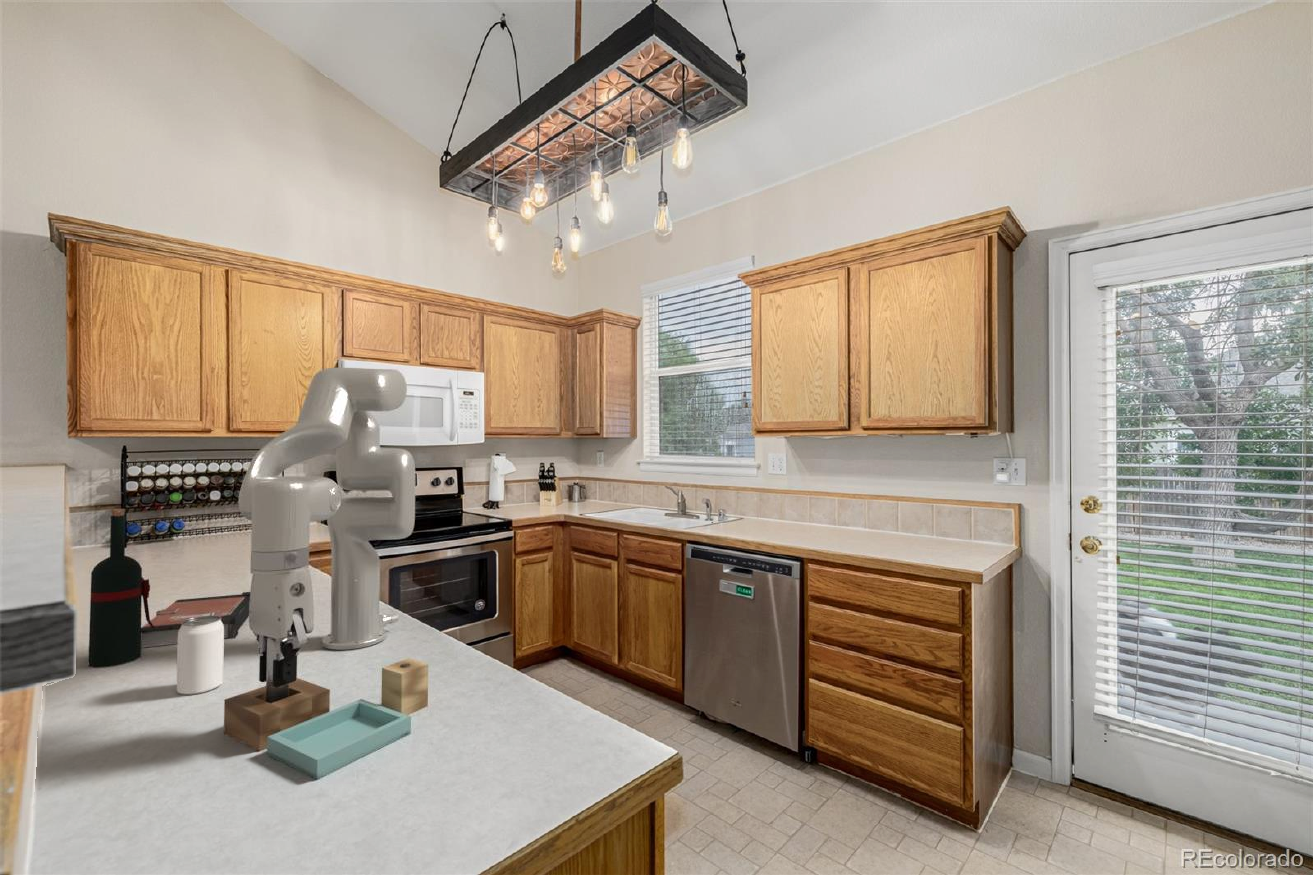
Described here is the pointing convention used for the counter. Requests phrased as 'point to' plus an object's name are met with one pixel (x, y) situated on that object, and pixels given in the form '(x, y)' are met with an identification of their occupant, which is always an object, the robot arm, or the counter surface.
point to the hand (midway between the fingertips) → (277, 680)
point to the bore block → (272, 712)
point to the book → (170, 619)
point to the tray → (338, 737)
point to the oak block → (405, 686)
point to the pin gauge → (271, 691)
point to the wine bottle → (116, 603)
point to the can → (200, 655)
